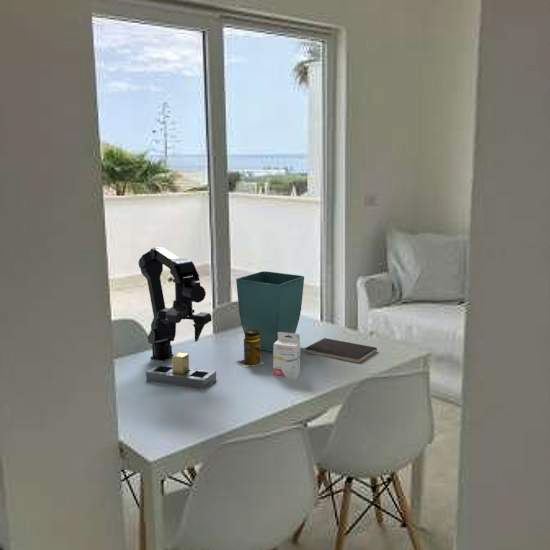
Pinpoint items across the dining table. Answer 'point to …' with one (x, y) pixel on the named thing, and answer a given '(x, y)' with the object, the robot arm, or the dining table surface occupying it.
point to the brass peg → (180, 363)
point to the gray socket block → (181, 376)
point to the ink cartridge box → (286, 355)
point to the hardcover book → (341, 350)
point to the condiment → (251, 349)
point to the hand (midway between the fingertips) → (185, 339)
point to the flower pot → (270, 304)
